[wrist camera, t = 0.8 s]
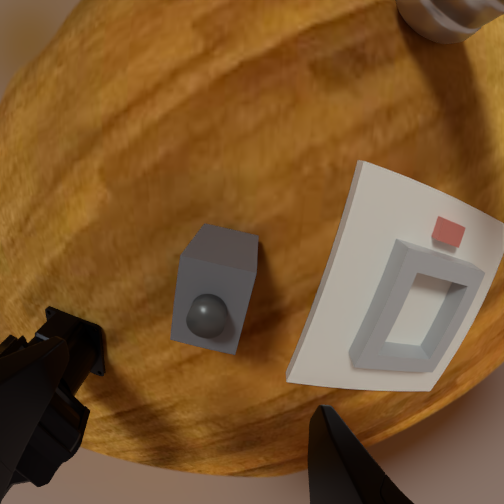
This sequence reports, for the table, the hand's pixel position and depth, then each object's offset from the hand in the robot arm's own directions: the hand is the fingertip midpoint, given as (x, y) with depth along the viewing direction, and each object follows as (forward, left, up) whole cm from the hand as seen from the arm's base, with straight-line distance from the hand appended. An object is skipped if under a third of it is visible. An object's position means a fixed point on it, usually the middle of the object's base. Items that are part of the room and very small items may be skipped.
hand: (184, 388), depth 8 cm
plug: (0, 0, -13) cm, 13 cm away
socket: (0, -15, -13) cm, 20 cm away
